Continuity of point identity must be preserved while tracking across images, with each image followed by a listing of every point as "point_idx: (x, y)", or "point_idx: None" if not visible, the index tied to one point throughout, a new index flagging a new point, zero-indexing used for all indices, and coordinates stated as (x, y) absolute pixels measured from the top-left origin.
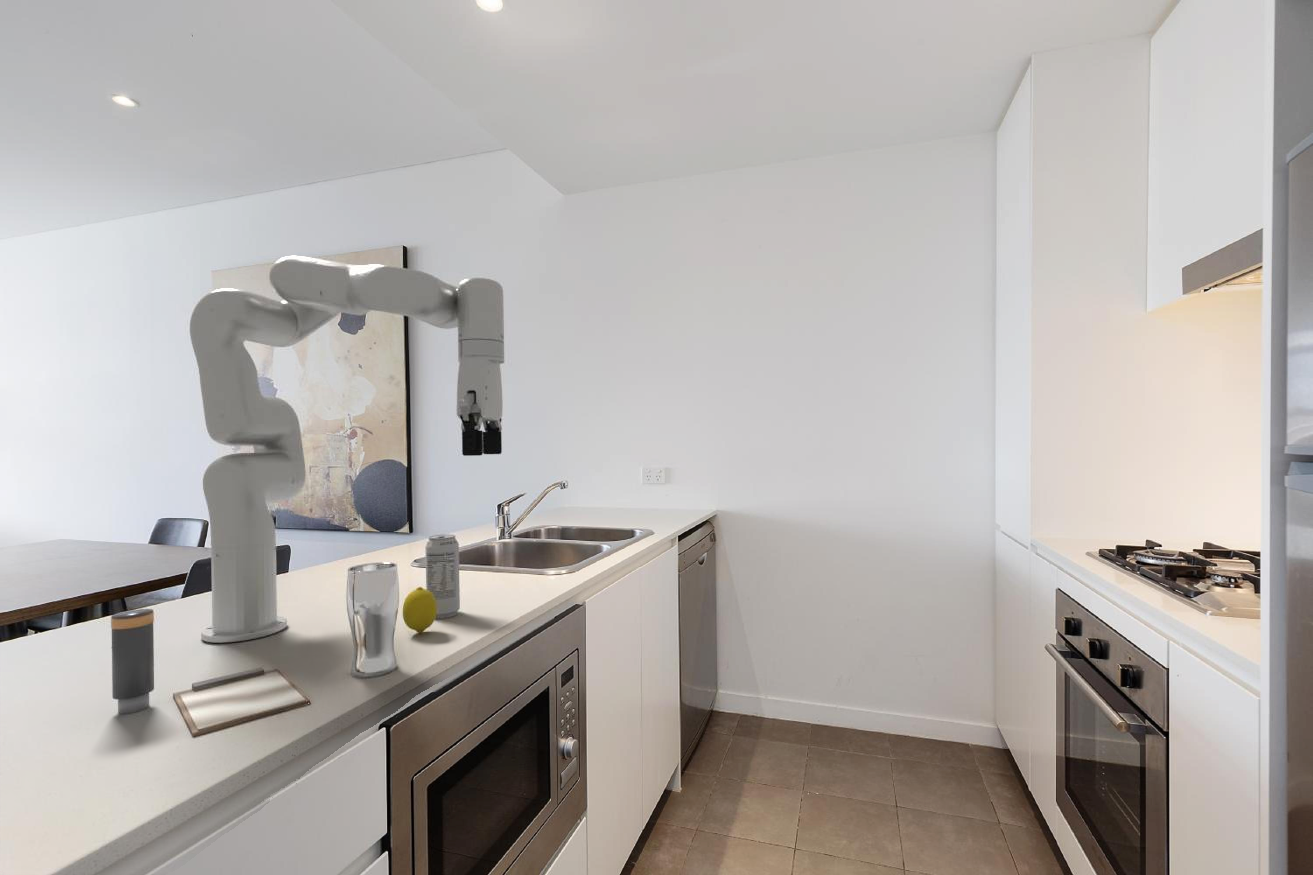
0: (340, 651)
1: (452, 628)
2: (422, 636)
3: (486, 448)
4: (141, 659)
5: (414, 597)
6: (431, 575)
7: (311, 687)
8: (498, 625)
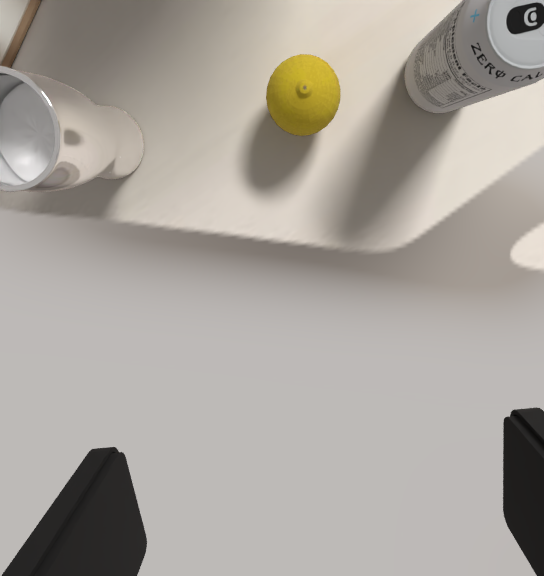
0: (175, 3)
1: (340, 155)
2: None
3: (524, 459)
4: None
5: (276, 95)
6: (434, 40)
7: None
8: (367, 241)
